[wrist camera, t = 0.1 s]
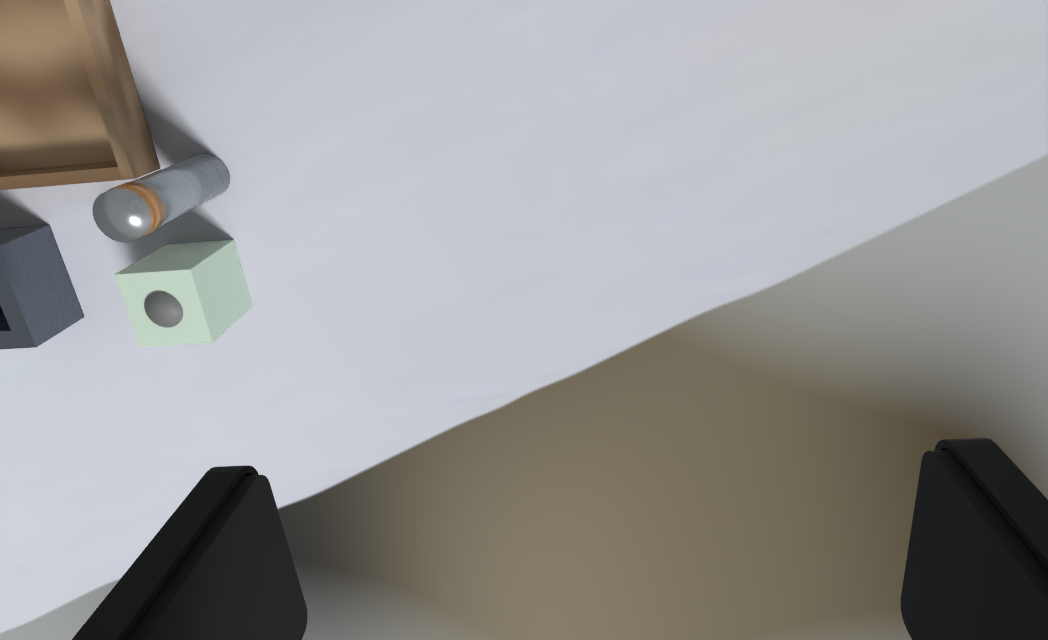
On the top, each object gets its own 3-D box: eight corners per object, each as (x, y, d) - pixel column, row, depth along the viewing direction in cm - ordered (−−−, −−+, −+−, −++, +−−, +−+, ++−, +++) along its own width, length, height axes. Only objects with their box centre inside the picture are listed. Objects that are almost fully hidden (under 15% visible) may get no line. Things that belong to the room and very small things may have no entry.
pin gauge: (182, 154, 46) (83, 192, 37) (224, 151, 46) (135, 188, 37) (194, 198, 48) (102, 244, 39) (235, 194, 47) (152, 241, 38)
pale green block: (166, 244, 49) (112, 275, 44) (234, 239, 49) (189, 270, 43) (187, 310, 51) (138, 347, 46) (253, 306, 51) (211, 344, 45)
